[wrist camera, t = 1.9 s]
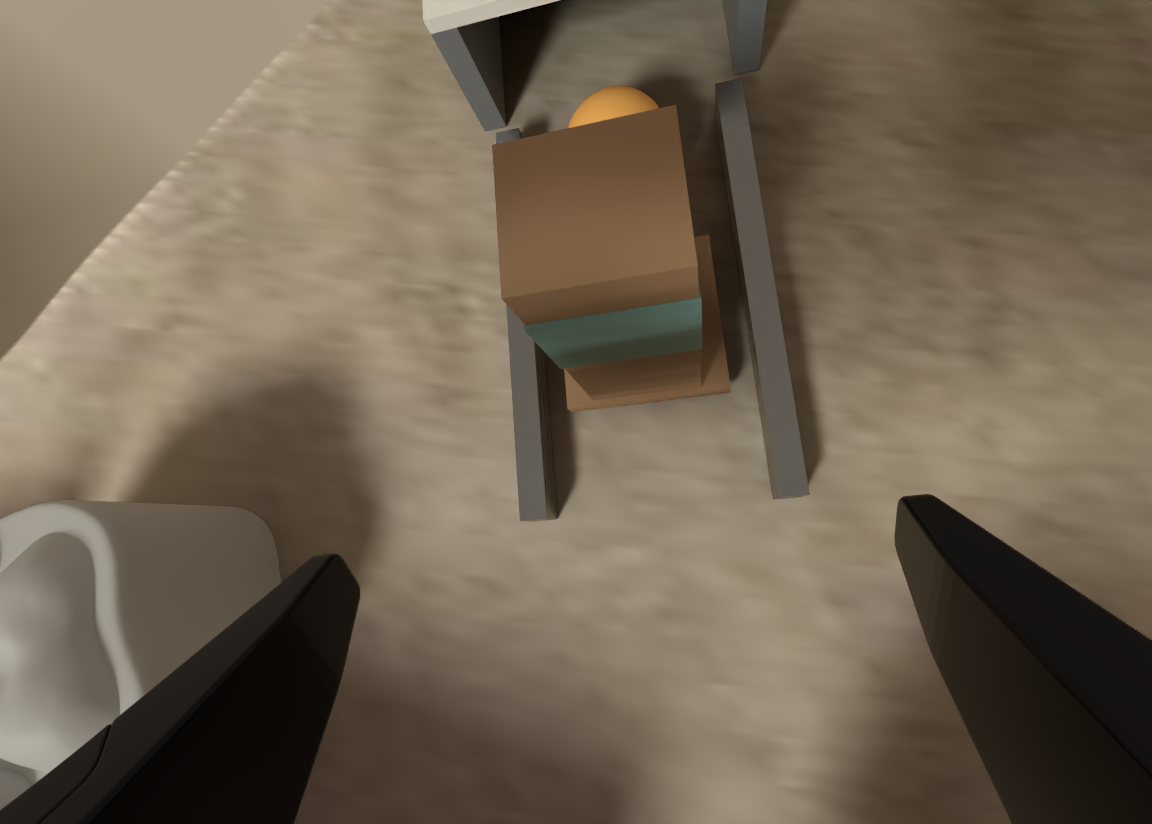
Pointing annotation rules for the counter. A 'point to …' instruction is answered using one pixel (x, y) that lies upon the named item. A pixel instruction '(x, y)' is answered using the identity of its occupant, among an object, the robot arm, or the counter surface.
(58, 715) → the lumpy-topped squat cylinder
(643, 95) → the ball
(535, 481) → the rails
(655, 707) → the counter surface
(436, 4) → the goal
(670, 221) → the teal-banded wooden block
